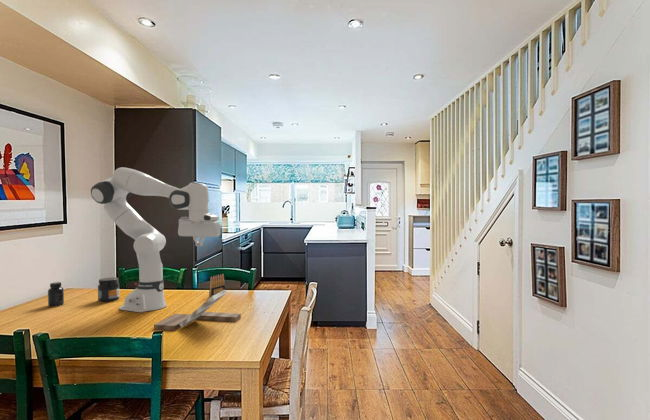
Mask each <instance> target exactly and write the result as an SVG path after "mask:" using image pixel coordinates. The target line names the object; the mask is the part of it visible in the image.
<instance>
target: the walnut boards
mask: <svg viewBox="0 0 650 420" xmlns="http://www.w3.org/2000/svg"><path fill="white" fill-rule="evenodd" d="M191 314H192V313H191ZM191 314H187V313H174V314H172V315H169V316H168V317H166V318H164V319H163V320H160V321H158V322H156V323H155V324H153V330H158V331H159V330H160V331H177V330H178V329H180V328H182V327H181V326H180V325H179V324H180V323H181V322H183V321H184V320H185V319H186V318H187V317H188V316H190V315H191ZM241 317H242V316H241V313H236V312H235V313H233V312H216V311H205V312H204V313H203V314H202V315H200V316H199V317H198V318H197V319H196V320H198V321H199V320H201V321H218V322H219V321H220V322H237V321H239V320H240V319H242V318H241Z"/></svg>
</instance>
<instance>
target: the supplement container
mask: <svg viewBox="0 0 650 420" xmlns="http://www.w3.org/2000/svg"><path fill="white" fill-rule="evenodd" d="M115 300H116V301H118V300H120V283H119V277H115V276H114V277H111V276H110V277H104V278H100V279H98V285H97V301H98V302H99V301H100V302H99V303H110V302H111V301H112V302H115ZM112 302H111V303H112Z"/></svg>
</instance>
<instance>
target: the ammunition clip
mask: <svg viewBox="0 0 650 420" xmlns="http://www.w3.org/2000/svg"><path fill="white" fill-rule="evenodd" d="M223 290H225V291H226V285H225V276H224V273H222V274H217V275H213V276H210V282H209V292H208V293H209V294H208V296H209V298H211V297H212V296H213V295H215V294H217V293H219V292H221V291H223Z"/></svg>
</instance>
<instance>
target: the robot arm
mask: <svg viewBox="0 0 650 420" xmlns="http://www.w3.org/2000/svg"><path fill="white" fill-rule="evenodd" d="M208 189H209V188H208V186H207V185H206V184H205V183H201V182H195V181H193V182H190V183H189V184H188V185H186V186H184V187H182V188H179V187H176V186H174V185H171V184H169V183H165V182H163V181H161V180H159V179H157V178H154V177H153V176H151V175H149V174H147V173H144V172H142V171H140V170H138V169H137V170H136V169H133V168H129V167H123V166H122V167H118V168H116V169H115V170H114V171H113V173H112V176H111V177H108V178H106V179H104V180H102V181H99V182H96V183H95V184H94V185H93V186H92V187H91V189H90V196H91V197H92V199H93V200H94V201H95V202H96V203H97V204H101V205H103V209H104V211H105V212H106V214H107V215H108V217H109V218H110V219H111V221H112V222H113V223H115V225H116V226H117V227H118V228H119V229H120V230H121V231H122V232H123V233H124V234H125V235H127V236H129V237H130V238H131V239H133V240H134V242H133V250H134V251H135V253H136V258H137V263H138V273H139V275H138V276H139V277H138V279H139V280H138V281H137V282H134V286H135V289H133V290H132V291H131V292H129V293H128V294H127V295H126V296H125V299H124V304H122V305H120V306H119V308H118V310H120V311H127V312H134V313H135V312H136V313H144V312H149V311H157V310H160V309H164V308H165V307H167V303H166V300H165V294H164V293H165V292H164V285H165V283H164V282H165V281H164V278H163V277H164V276H163V275H164V274H163V271H164V270H163V267H164V266H163V262H162V259H161V256H160V254H161V253H160V251H162V250H163V249H164V248H165V246H166V244H167V240H166V237H165V235H164V234H162V233H161V232H160V231H159V230H157V229H156V227H153V226H152V225H151V224H150V223H149V222H147V221H146V220H145V219H144V218H143V217H142V216H141V215H140V214H139V213H138V212H137V211H136V210H135V209H134V207H132V206H131V205H130V204H129V203H128V201H127V198H131V196H132V194H134V195H138V196H144V197H145V196H146V197H153V196H154V197H164V198H168V202H169V205H170V206H171V208H172V209H175V210H179V211H180V210H182V211H183V210H184V211H185V210H186V211H187V210H188V216H181V217H180V218H179V219H178V228H177V235H178V236H179V237H192V239H193V241H194V243H195V244H194V245H195V247H203V246H204V241H205V240H206V237H211V238H213V237H215V238H217V237H219V236H220V235H221V223H220V221H219V219H220V216H219V215H217V214H213V213H211V212H210V211H209V210H210V209H209V198H210V196H209V190H208ZM199 238H200V241H199V240H198V239H199Z"/></svg>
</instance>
